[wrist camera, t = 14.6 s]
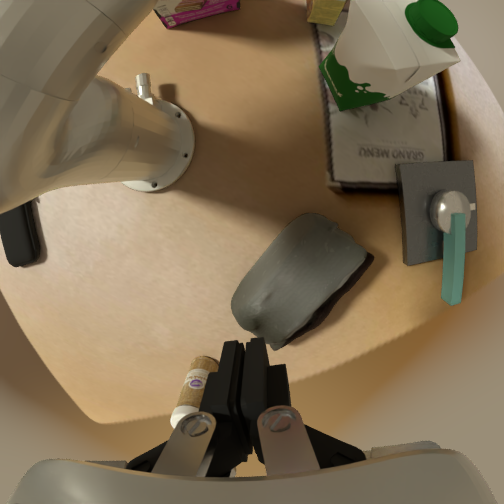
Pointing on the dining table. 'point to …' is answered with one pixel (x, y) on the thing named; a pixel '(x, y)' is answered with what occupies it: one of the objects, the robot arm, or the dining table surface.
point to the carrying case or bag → (19, 235)
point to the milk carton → (388, 49)
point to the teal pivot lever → (451, 239)
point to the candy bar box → (191, 10)
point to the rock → (298, 280)
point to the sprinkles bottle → (193, 388)
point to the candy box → (324, 11)
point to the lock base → (419, 200)
